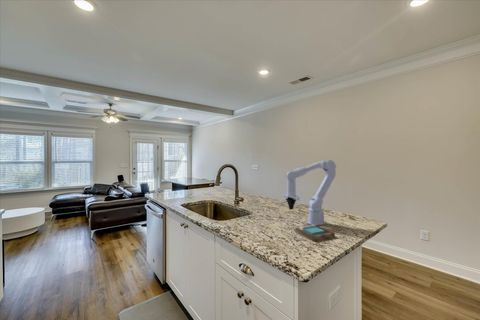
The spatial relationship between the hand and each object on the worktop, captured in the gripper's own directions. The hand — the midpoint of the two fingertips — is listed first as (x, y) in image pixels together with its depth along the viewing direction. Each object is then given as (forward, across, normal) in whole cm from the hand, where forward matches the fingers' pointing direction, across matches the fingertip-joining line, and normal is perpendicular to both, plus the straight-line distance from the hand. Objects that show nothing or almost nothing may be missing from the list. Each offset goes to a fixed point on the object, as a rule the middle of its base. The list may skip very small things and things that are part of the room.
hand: (291, 209), depth 139 cm
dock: (+9, +22, -1) cm, 24 cm away
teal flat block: (+10, +22, -1) cm, 24 cm away
